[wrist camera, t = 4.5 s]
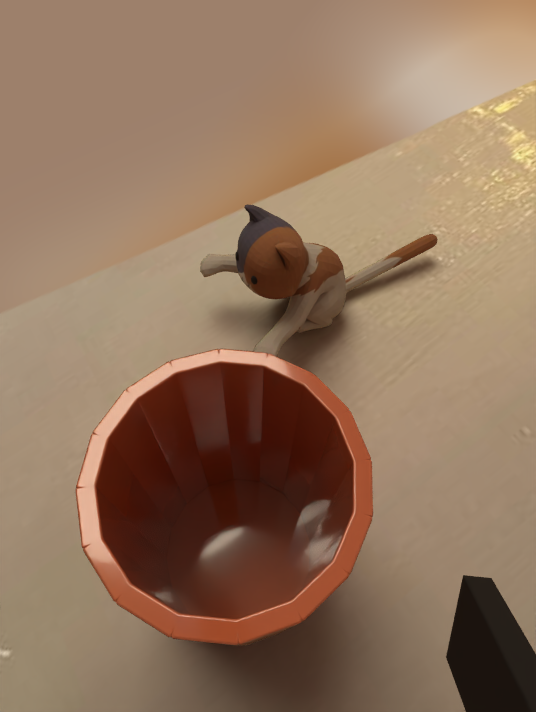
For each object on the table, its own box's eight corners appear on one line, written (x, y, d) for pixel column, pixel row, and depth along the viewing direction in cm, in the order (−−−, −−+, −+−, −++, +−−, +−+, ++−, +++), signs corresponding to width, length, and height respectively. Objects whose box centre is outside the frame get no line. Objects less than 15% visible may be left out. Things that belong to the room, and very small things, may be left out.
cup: (128, 540, 23) (24, 453, 12) (251, 445, 25) (249, 307, 15) (224, 687, 20) (191, 731, 10) (351, 563, 22) (434, 493, 12)
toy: (200, 297, 30) (183, 188, 23) (394, 217, 34) (431, 103, 27) (260, 396, 27) (263, 303, 20) (467, 294, 31) (532, 186, 24)
